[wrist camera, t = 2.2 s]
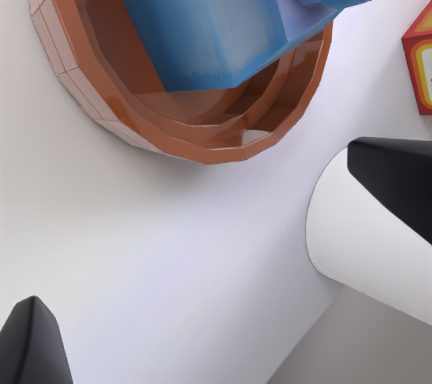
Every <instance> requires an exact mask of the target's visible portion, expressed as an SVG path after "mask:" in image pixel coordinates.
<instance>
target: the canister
mask: <svg viewBox="0 0 432 384" xmlns="http://www.w3.org/2000/svg"><path fill="white" fill-rule="evenodd" d="M306 244H307V250H308V254H309V257H310V259H311V262H312V263H313V265H314V267H315V268H316V269H317V270H318V271H319V272H320V273H321V274H323V275H325V276H327V277H329V278H331V279H334V280H336V281H338V282H340V283H342V284H344V285H346V286H349V287H351V288H353V289H355V290H357V291H359V292H361V293H363V294H366V295H368V296H370V297H372V298H374V299H376V300H379V301H381V302H383V303H385V304H387V305H389V306H391V307H393V308H395V309H398V310H400V311H402V312H404V313H406V314H408V315H410V316H412V317H415V318H417V319H419V320H421V321H423V322H425V323H427V324H430V325H432V245H431V244H429V243H428V242H427V241H426V240H424V239H423V238H422V237H421V236H419V235H418V234H417V233H416V232H414V231H413V230H412V229H411V228H409V227H408V226H407V225H406V224H405V223H403V222H402V221H401V220H400V219H398V218H397V217H396V216H395V215H393V214H392V213H391V212H390V211H389V210H387V209H386V208H385V207H384V206H383V205H382V204H381V203H380V202H379V201H378V200H377V199H375V198H374V197H373V196H372V195H371V194H370V193H369V192H368V191H367V190H366V189H365V188H364V187H363V186H362V185H361V184H360V183H359V182H358V181H357V180H356V179H355V178H354V177H353V176H352V175H351V174H350V173H349V171H348V169H347V147H346V148H345V149H343V150H342V151H340V152H339V153H338V154H337V155H336V156H335V157H334V158H333V159H332V160H331V161H330V163H329V164H328V165H327V167H326V168H325V170H324V171H323V173H322V174H321V176H320V178H319V180H318V182H317V184H316V187H315V189H314V192H313V194H312V197H311V201H310V204H309V208H308V214H307V220H306Z"/></svg>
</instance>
